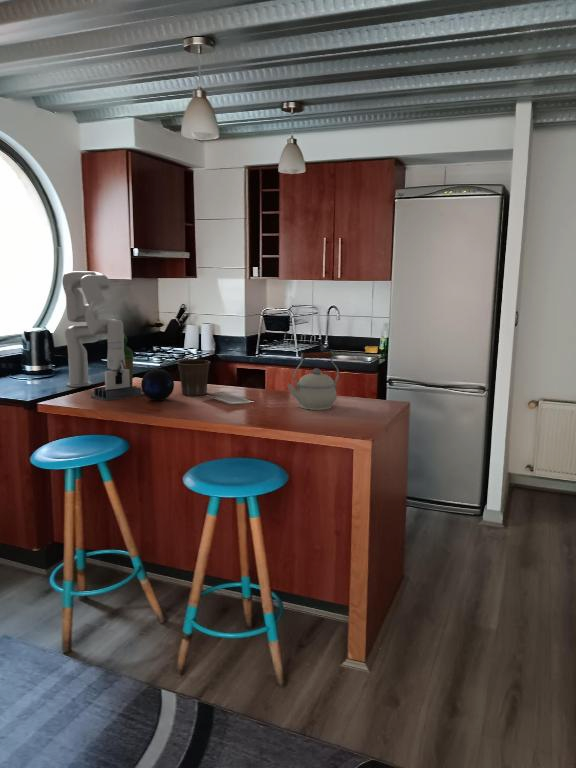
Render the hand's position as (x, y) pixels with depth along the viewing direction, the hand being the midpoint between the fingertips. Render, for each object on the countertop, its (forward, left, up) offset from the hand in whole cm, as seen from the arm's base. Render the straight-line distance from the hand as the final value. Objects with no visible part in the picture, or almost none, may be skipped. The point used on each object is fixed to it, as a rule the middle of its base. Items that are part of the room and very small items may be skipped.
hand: (117, 383), depth 304 cm
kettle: (+81, +53, -6) cm, 97 cm away
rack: (0, 0, -6) cm, 6 cm away
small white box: (0, 0, -4) cm, 4 cm away
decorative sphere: (+22, +9, -6) cm, 24 cm away
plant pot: (+20, +31, -6) cm, 37 cm away
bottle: (-16, +12, -6) cm, 21 cm away
